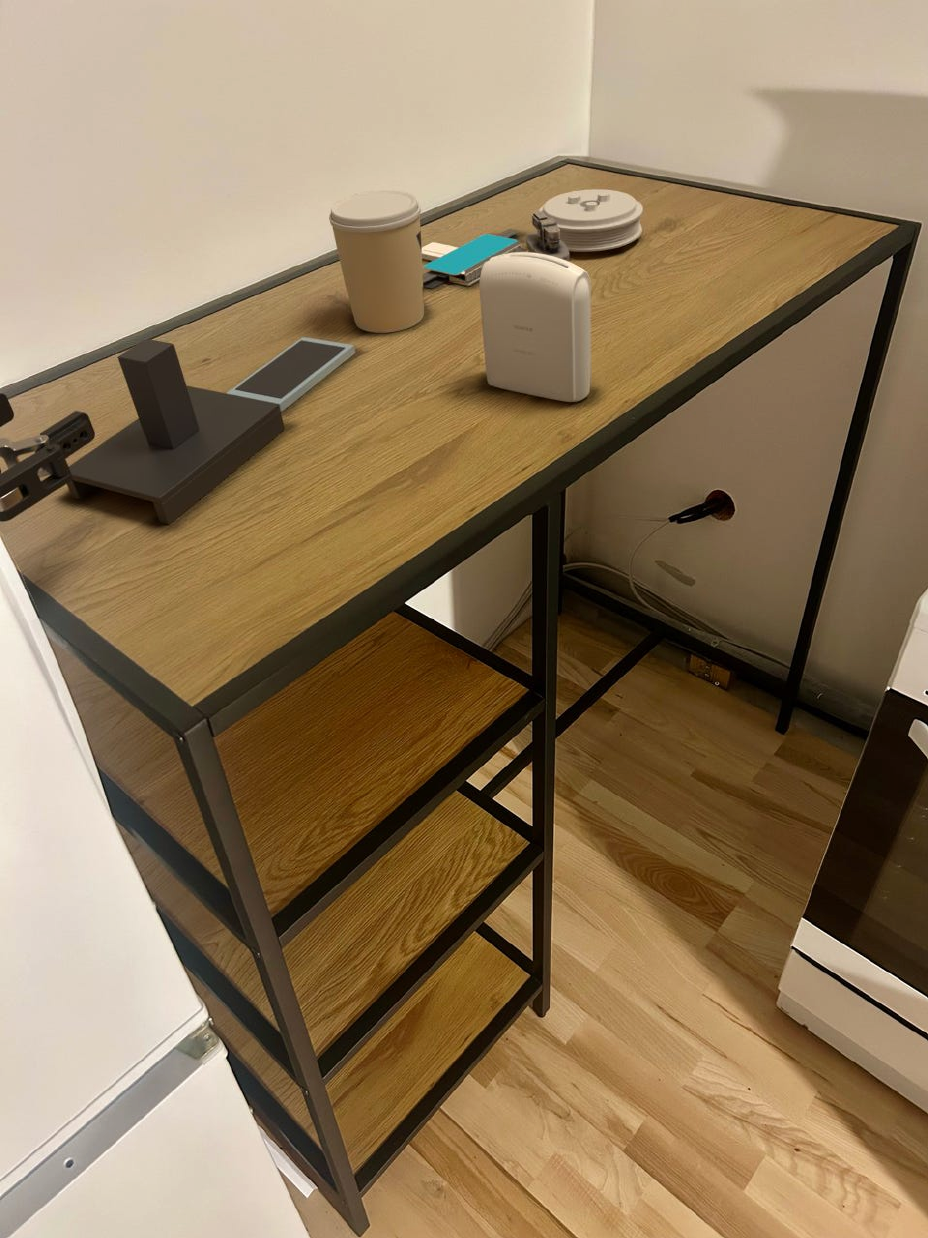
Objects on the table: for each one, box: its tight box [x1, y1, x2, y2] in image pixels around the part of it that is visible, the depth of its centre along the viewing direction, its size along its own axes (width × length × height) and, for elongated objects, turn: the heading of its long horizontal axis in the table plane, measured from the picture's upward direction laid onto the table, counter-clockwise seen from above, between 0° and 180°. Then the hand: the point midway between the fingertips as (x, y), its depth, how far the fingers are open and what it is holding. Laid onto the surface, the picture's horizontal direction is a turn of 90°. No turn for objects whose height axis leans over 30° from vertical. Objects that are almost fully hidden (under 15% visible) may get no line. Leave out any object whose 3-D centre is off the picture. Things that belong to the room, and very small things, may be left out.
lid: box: [537, 188, 644, 253], centre depth 112 cm, size 13×13×5 cm
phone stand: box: [421, 228, 528, 290], centre depth 112 cm, size 20×12×2 cm, turn 141°
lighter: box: [525, 210, 570, 262], centre depth 95 cm, size 8×3×10 cm, turn 14°
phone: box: [226, 336, 356, 413], centre depth 92 cm, size 13×6×1 cm, turn 152°
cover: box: [66, 338, 286, 526], centre depth 78 cm, size 16×11×11 cm
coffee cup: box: [328, 189, 425, 334], centre depth 97 cm, size 9×9×12 cm
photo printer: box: [478, 252, 592, 403], centre depth 82 cm, size 10×4×12 cm, turn 57°
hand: (46, 413), depth 68 cm, fingers open, 8 cm apart
